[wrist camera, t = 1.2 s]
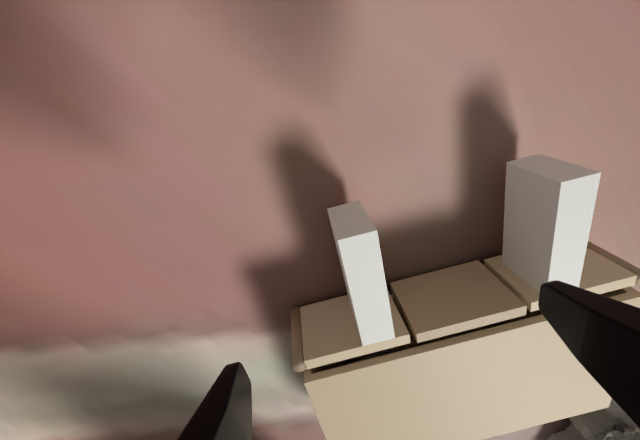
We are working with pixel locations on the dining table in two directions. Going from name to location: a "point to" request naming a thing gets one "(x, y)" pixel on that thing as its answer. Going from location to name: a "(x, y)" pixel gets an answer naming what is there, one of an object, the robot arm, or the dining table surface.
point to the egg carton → (600, 426)
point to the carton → (458, 367)
